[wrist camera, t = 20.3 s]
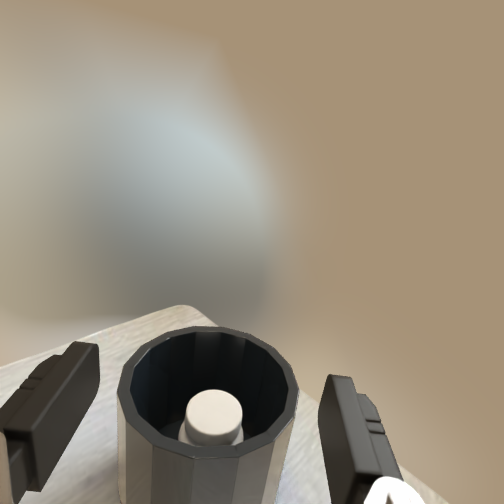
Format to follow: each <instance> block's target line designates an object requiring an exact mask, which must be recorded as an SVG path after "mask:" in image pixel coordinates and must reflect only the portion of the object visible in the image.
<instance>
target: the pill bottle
mask: <svg viewBox="0 0 504 504" xmlns="http://www.w3.org/2000/svg"><path fill="white" fill-rule="evenodd" d="M241 422H242V408H241V405H240V403H239V402H238V400H237V399H236V398H235V397H233V396H232V395H231V394H229V393H227V392H224V391H221V390H206V391H203V392H200V393H198V394H197V395H195V396H194V397H193V398H192V399H191V400H190V401H189V403H188V405H187V408H186V414H185V420H184V422H183V423H182V425H181V428H180V431H179V435H178V441H181V442H184V443H187V444H190V445H193V446H196V447H197V446H223V445H236V444H238V443H241V442H243V438H244V437H243V429H242V426H241Z"/></svg>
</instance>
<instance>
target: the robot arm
mask: <svg viewBox="0 0 504 504" xmlns="http://www.w3.org/2000/svg"><path fill="white" fill-rule="evenodd" d="M99 383H100V366H99V347H98V345H97V344H93V343H85V342H77V341H74V342H73V343H71V345H70V346H69V347H68V348H67V349H66V351H65V352H64V353H63V354H62V355H53V356H51V357H50V358H48V359H46V360H45V361H43V362H42V363H40V364H39V365H38V366H37V367H36V368H35V369H34V370H33V372H32V373H31V374H30V375H29V376H28V379H26V380H25V381H24V382H23V383H22V384H21V385H20V388H19V389H17V390H16V391H15V392H14V393H13V395H12V396H11V397H10V398H9V399H8V400H7V402H6V403H5V404H4V405H3V406H2V407H1V408H0V504H18V503H19V501H20V500H21V498H22V497H23V495H24V493H25V492H26V490H27V491H36V492H41V490H42V489H43V487H44V485H45V483H46V482H47V480H48V478H49V477H50V475H51V473H52V471H53V470H54V468H55V466H56V464H57V463H58V461H59V459H60V457H61V456H62V454H63V452H64V451H65V449H66V447H67V445H68V444H69V442H70V440H71V438H72V437H73V435H74V433H75V431H76V430H77V428H78V426H79V425H80V423H81V421H82V419H83V418H84V416H85V414H86V412H87V411H88V409H89V407H90V405H91V404H92V402H93V400H94V398H95V397H96V394H97V391H98V388H99ZM318 427H319V433H320V439H321V445H322V451H323V456H324V462H325V468H326V474H327V479H328V485H329V491H330V497H331V503H332V504H424V502H423V501H422V499H421V497H420V496H419V495H418V493H417V492H416V491H415V490H414V489H413V488H412V487H411V486H409V485H408V484H407V483H405V482H404V480H403V478H402V475H401V473H400V470H399V467H398V465H397V462H396V459H395V457H394V454H393V451H392V449H391V446H390V443H389V441H388V438H387V436H386V435H385V430H384V427H383V425H382V424H381V419H380V417H379V414H378V412H377V409H376V407H375V405H374V404H373V403H372V402H371V401H370V399H369V398H368V397H367V396H366V395H365V394H358V393H357V392H356V389H355V386H354V383H353V380H352V378H351V377H347V376H338V375H332V374H329V375H328V376H327V379H326V383H325V387H324V390H323V394H322V398H321V402H320V405H319V410H318Z"/></svg>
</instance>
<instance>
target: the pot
mask: <svg viewBox="0 0 504 504" xmlns="http://www.w3.org/2000/svg"><path fill="white" fill-rule="evenodd" d="M206 390H221V391H224V392H227V393H229V394H231V395H232V396H233V397H235V398H236V399H237V400H238V402H239V403H240V405H241V408H242V422H241V426H242V429H243V437H244V438H243V442H241V443H238V444H236V445H223V446H197V447H196V446H193V445H190V444H187V443H184V442H181V441H178V435H179V431H180V428H181V425H182V423H183V422H184V420H185V414H186V408H187V405H188V403H189V401H190V400H191V399H192V398H193V397H194V396H195V395H197V394H198V393H200V392H203V391H206ZM298 397H299V387H298V384H297V381H296V379H295V376H294V373H293V370H292V368H291V365H290V364H289V363H288V362H287V361H286V360H285V359H284V358H283V357H282V356H281V355H280V354H279V353H278V351H277V350H276V349H275V348H274V347H272V346H270V345H269V344H267V343H265V342H263V341H261V340H260V339H258V338H256V337H254V336H253V335H251V334H248V333H244V332H240V331H236V330H233V329H229V328H225V327H207V326H195V327H194V326H192V327H188V328H183V329H179V330H174V331H169V332H167V333H164V334H162V335H160V336H158V337H157V338H155V339H153V340H151V341H149V342H147V343H145V344H143V345H141V347H140V348H139V349H138V350H137V351H136V352H135V353H134V354H133V355H132V357H131V358H130V359H129V360H128V361H127V362H126V363H125V364H124V366H123V370H122V373H121V377H120V381H119V385H118V389H117V433H118V491H119V496H120V501H121V504H274V502H275V498H276V494H277V490H278V486H279V481H280V477H281V473H282V469H283V465H284V461H285V457H286V452H287V448H288V444H289V440H290V436H291V432H292V428H293V424H294V419H295V415H296V409H297V403H298Z"/></svg>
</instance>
